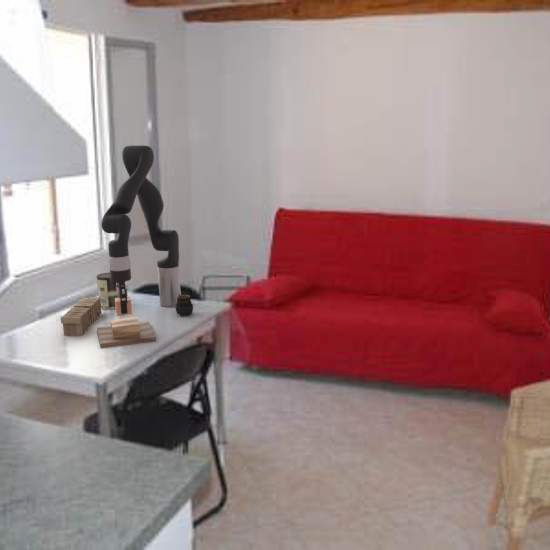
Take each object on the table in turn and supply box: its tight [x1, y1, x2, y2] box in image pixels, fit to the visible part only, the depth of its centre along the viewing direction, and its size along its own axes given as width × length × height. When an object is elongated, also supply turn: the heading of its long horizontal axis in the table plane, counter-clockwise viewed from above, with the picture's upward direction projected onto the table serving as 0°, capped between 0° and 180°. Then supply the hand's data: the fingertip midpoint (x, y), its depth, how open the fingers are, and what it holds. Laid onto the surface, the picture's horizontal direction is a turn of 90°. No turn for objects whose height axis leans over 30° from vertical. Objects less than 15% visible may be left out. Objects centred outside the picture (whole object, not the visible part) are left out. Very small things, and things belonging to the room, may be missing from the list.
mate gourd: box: [175, 294, 194, 317], centre depth 273 cm, size 7×8×10 cm
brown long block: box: [60, 296, 102, 337], centre depth 264 cm, size 8×8×29 cm
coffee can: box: [96, 272, 118, 310], centre depth 289 cm, size 10×10×14 cm
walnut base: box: [96, 316, 157, 349], centre depth 250 cm, size 20×20×6 cm
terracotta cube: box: [115, 296, 133, 317], centre depth 247 cm, size 6×6×6 cm
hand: (123, 311), depth 248 cm, fingers closed on terracotta cube, 5 cm apart
